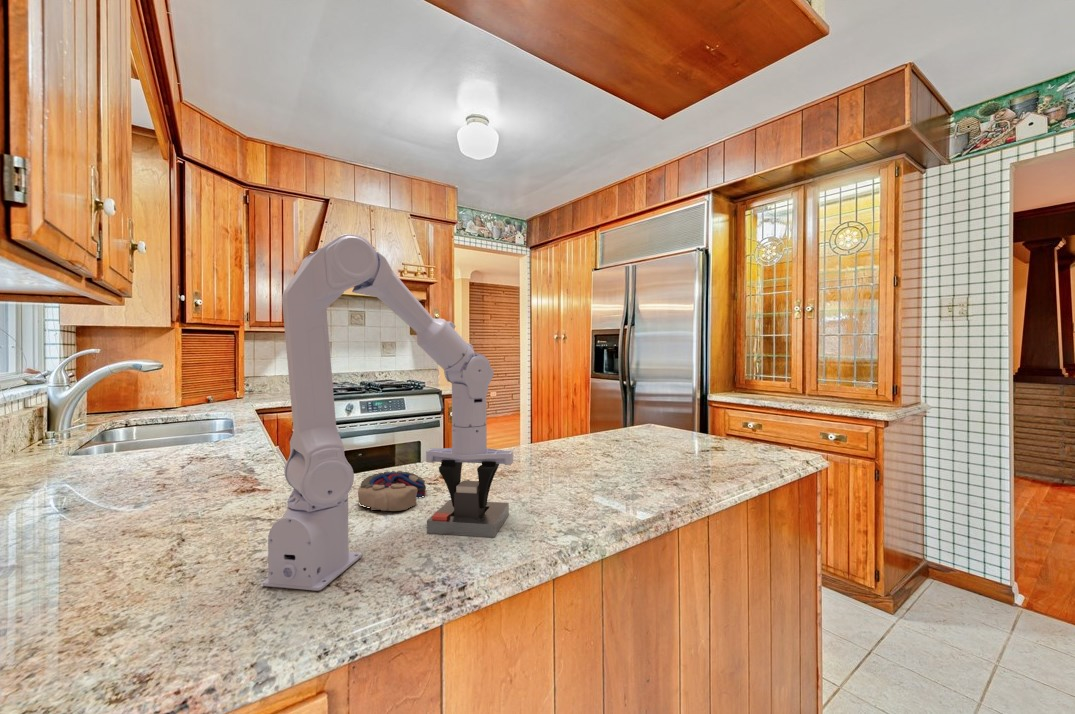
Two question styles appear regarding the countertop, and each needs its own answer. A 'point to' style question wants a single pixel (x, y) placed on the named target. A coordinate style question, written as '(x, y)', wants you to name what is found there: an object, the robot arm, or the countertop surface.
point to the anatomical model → (391, 491)
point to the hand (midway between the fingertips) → (469, 505)
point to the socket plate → (468, 521)
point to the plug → (467, 500)
